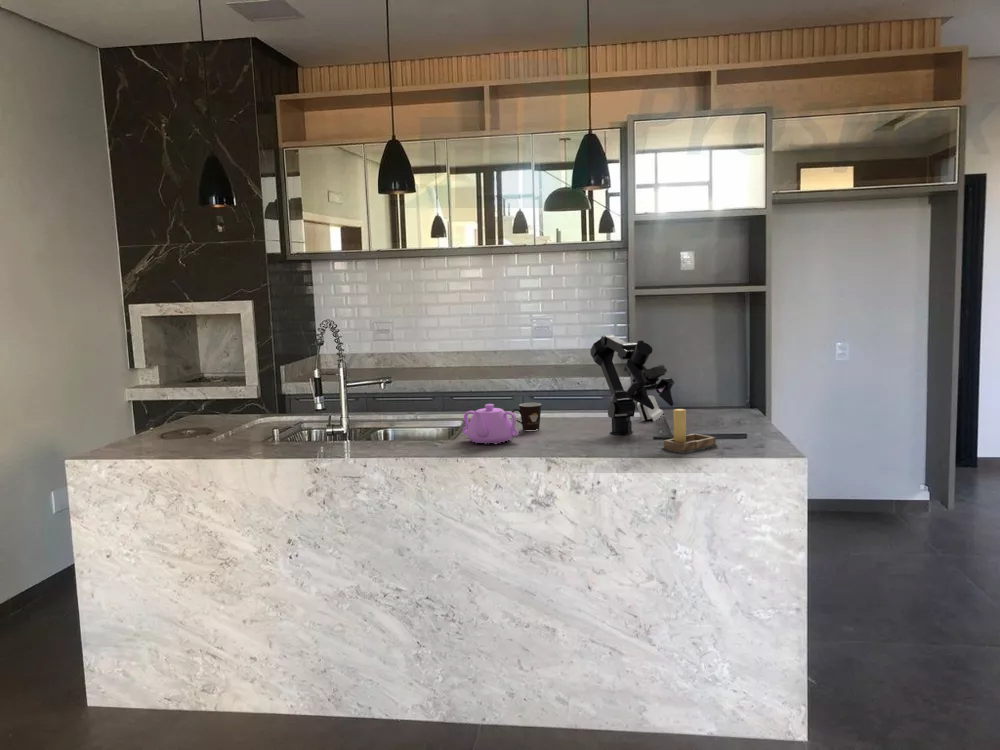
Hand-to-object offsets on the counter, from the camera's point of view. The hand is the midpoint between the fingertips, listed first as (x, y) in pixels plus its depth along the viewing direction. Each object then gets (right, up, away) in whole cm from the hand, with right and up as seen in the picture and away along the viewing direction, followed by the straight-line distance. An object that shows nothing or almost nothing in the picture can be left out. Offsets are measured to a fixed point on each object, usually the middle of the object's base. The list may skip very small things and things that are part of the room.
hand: (663, 407), depth 266 cm
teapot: (-60, -14, +18) cm, 64 cm away
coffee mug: (-45, -11, +38) cm, 60 cm away
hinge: (+6, -7, +53) cm, 54 cm away
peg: (+5, -14, -4) cm, 15 cm away
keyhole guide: (+8, -14, -2) cm, 16 cm away
